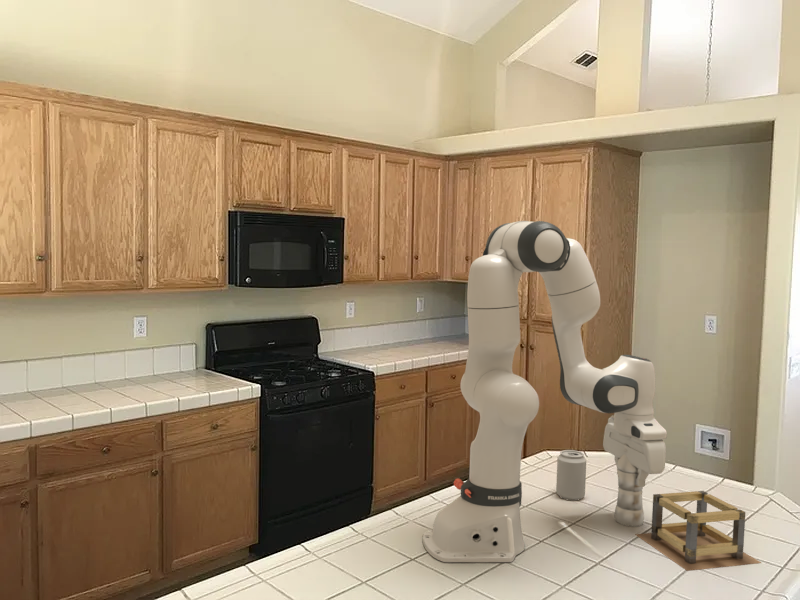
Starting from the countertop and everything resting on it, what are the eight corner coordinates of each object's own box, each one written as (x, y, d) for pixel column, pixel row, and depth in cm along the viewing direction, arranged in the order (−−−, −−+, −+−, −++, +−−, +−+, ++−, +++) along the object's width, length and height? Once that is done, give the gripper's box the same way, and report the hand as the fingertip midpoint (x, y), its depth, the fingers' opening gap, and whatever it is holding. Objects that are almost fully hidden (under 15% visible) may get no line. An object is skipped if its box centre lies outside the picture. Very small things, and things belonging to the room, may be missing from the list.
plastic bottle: (645, 533, 155) (650, 448, 154) (615, 530, 157) (619, 446, 155) (641, 522, 162) (645, 441, 160) (612, 519, 163) (616, 439, 162)
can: (588, 495, 180) (590, 451, 179) (579, 503, 174) (581, 458, 173) (561, 489, 184) (563, 446, 183) (552, 497, 178) (553, 453, 177)
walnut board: (686, 576, 134) (687, 570, 134) (634, 539, 152) (634, 534, 152) (761, 568, 139) (761, 562, 139) (702, 533, 156) (702, 528, 156)
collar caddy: (689, 564, 137) (692, 516, 137) (651, 537, 150) (653, 494, 149) (742, 558, 141) (745, 512, 140) (700, 533, 153) (703, 490, 152)
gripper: (598, 413, 167) (595, 467, 168) (647, 435, 147) (644, 496, 148) (620, 412, 169) (618, 466, 169) (672, 433, 149) (669, 494, 150)
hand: (630, 480), depth 159 cm, fingers closed on plastic bottle, 6 cm apart
